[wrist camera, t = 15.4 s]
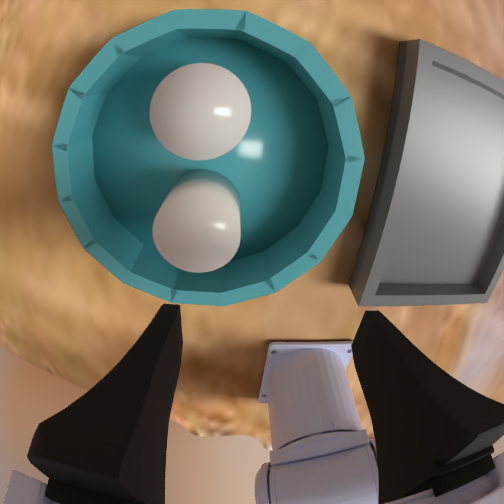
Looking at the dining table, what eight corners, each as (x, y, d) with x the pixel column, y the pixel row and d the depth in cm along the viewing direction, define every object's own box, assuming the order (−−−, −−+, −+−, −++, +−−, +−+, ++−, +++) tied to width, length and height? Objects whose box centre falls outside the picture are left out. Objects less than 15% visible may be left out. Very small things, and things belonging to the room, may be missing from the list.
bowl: (314, 273, 23) (327, 309, 19) (98, 260, 21) (78, 293, 18) (354, 43, 15) (382, 36, 11) (86, 34, 13) (52, 28, 10)
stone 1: (244, 145, 17) (246, 163, 14) (167, 141, 17) (149, 159, 13) (252, 69, 15) (255, 65, 11) (171, 66, 14) (152, 63, 11)
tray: (473, 286, 25) (486, 302, 22) (348, 285, 23) (358, 306, 21) (530, 105, 15) (550, 112, 13) (399, 41, 14) (419, 39, 12)
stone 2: (239, 237, 20) (239, 273, 17) (170, 235, 20) (157, 271, 16) (241, 170, 18) (242, 194, 14) (166, 169, 17) (148, 193, 14)
